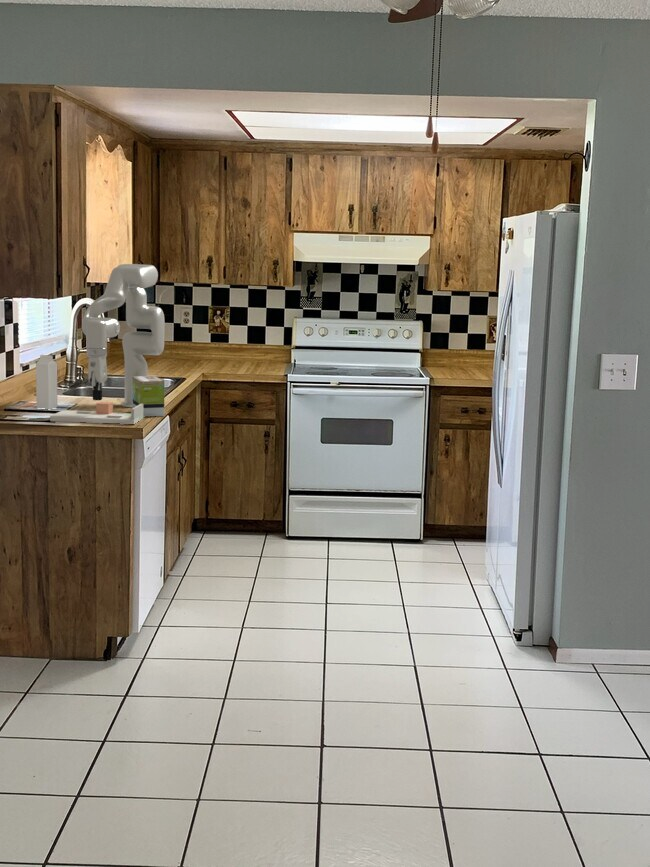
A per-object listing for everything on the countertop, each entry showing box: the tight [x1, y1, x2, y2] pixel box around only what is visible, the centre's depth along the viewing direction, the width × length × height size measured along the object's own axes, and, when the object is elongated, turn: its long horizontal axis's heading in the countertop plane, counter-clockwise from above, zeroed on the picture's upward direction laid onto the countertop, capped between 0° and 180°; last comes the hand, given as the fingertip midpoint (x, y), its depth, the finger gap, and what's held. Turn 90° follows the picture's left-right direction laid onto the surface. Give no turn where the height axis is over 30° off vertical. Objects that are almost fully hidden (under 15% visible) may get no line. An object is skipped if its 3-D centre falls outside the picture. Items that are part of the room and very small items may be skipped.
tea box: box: [132, 375, 165, 418], centre depth 385 cm, size 15×10×15 cm
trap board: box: [49, 404, 144, 425], centre depth 366 cm, size 15×32×6 cm, turn 87°
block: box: [95, 401, 114, 414], centre depth 371 cm, size 5×5×4 cm
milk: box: [35, 354, 59, 409], centre depth 387 cm, size 6×6×22 cm
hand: (97, 399), depth 365 cm, fingers closed
